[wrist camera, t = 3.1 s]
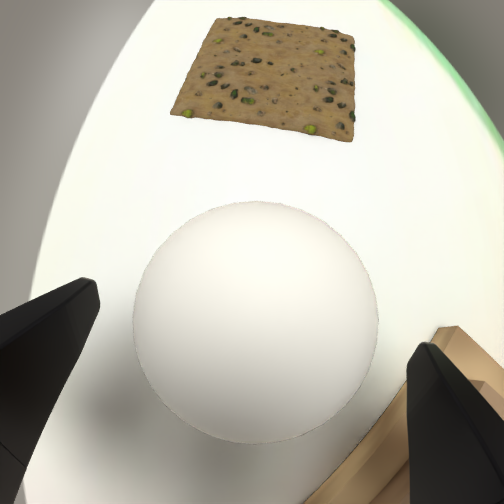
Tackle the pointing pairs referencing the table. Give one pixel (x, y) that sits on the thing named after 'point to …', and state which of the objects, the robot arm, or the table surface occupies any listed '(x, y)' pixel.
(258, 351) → the lightbulb
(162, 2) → the table surface
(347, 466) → the plinth
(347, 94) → the cookie
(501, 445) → the robot arm
